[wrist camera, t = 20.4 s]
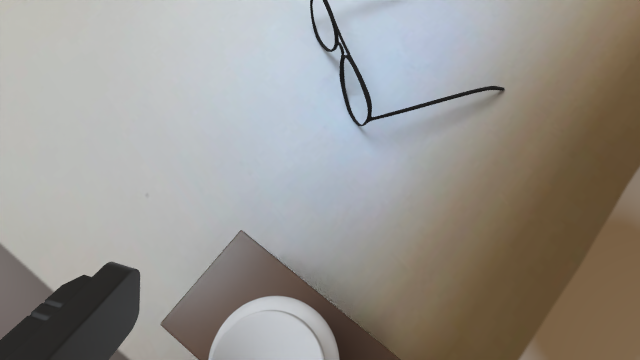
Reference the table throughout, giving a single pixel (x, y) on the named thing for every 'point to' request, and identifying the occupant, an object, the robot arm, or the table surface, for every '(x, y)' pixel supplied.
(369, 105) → the glasses
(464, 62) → the table surface
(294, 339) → the pill bottle
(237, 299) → the walnut shelf
